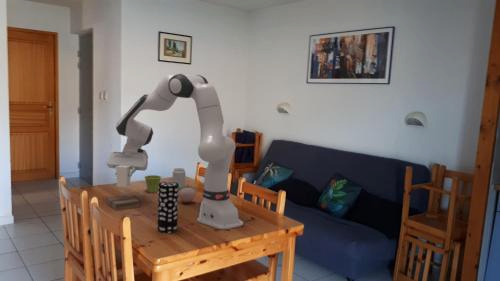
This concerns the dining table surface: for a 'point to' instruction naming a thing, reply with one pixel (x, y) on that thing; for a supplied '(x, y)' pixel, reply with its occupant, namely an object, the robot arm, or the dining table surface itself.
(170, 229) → the spotted tube
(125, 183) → the block
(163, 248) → the dining table surface
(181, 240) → the dining table surface
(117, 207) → the base
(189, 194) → the decorative fruit
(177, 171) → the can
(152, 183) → the plant pot
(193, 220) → the dining table surface
